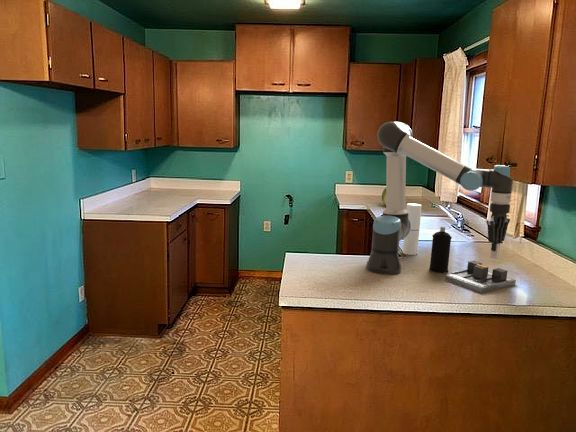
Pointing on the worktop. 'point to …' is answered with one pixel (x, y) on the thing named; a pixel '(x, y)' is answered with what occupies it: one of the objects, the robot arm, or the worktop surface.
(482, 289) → the panel
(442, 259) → the aerosol can
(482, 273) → the breaker handle
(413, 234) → the cylindrical container
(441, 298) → the worktop surface
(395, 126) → the robot arm
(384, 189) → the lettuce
